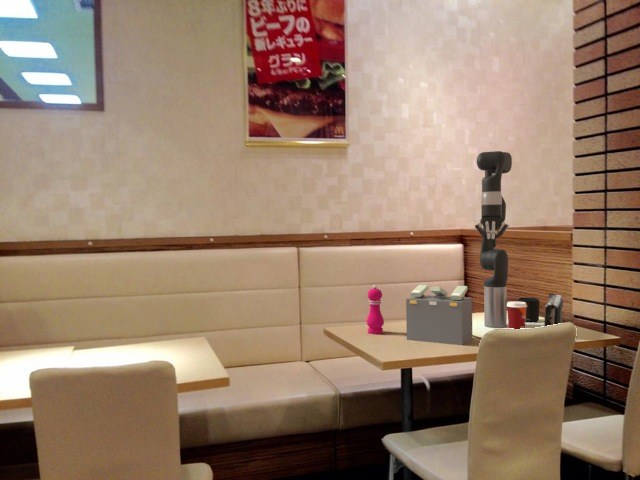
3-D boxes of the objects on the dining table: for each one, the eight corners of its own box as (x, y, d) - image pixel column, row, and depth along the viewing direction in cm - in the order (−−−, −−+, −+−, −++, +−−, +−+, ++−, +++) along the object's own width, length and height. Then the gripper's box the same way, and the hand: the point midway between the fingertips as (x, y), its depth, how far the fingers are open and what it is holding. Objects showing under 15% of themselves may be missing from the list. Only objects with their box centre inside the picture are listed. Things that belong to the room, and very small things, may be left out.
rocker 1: (419, 288, 233) (419, 284, 233) (428, 288, 231) (427, 284, 231) (411, 296, 226) (410, 292, 226) (420, 296, 224) (419, 292, 224)
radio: (556, 340, 220) (556, 301, 219) (533, 337, 225) (533, 299, 224) (569, 329, 239) (569, 293, 239) (547, 327, 244) (547, 292, 243)
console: (419, 333, 236) (418, 292, 236) (472, 338, 225) (472, 294, 224) (406, 339, 225) (405, 296, 224) (461, 345, 214) (461, 299, 213)
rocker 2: (437, 296, 229) (438, 291, 229) (447, 296, 227) (447, 292, 227) (430, 290, 222) (430, 286, 222) (439, 291, 219) (440, 286, 220)
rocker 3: (458, 289, 225) (457, 285, 224) (467, 289, 223) (467, 285, 222) (450, 299, 218) (450, 295, 217) (460, 300, 216) (460, 295, 215)
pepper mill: (386, 331, 242) (385, 284, 241) (380, 334, 235) (380, 286, 235) (370, 330, 245) (369, 283, 244) (364, 333, 238) (363, 285, 238)
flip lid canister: (528, 340, 219) (528, 304, 219) (507, 340, 221) (507, 303, 220) (525, 336, 227) (525, 301, 226) (505, 336, 228) (505, 300, 228)
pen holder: (512, 320, 262) (512, 298, 262) (528, 318, 266) (528, 297, 266) (528, 323, 254) (528, 301, 253) (544, 321, 258) (544, 299, 257)
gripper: (511, 203, 221) (511, 248, 222) (477, 204, 228) (477, 248, 229) (506, 203, 215) (507, 249, 216) (471, 204, 222) (472, 249, 223)
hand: (491, 248), depth 222 cm, fingers closed
